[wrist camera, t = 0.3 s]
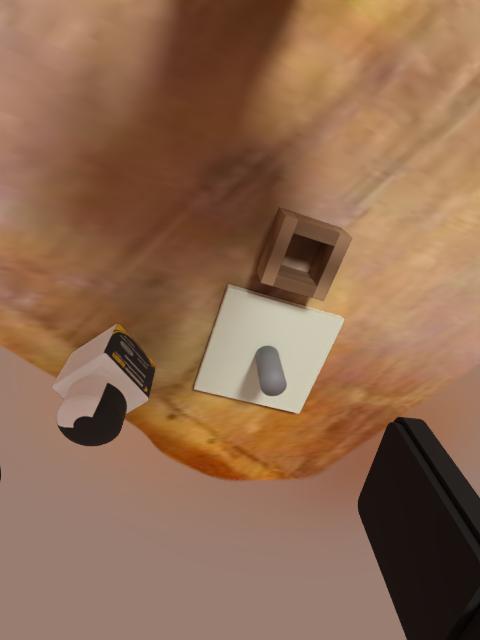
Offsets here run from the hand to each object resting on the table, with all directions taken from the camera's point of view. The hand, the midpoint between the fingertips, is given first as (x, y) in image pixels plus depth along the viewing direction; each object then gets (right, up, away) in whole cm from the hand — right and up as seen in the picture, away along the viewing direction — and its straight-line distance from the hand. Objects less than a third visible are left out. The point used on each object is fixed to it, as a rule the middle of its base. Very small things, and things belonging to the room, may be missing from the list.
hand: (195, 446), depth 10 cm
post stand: (+4, -1, +40) cm, 40 cm away
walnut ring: (+7, +11, +34) cm, 36 cm away
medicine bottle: (-14, -2, +39) cm, 41 cm away
